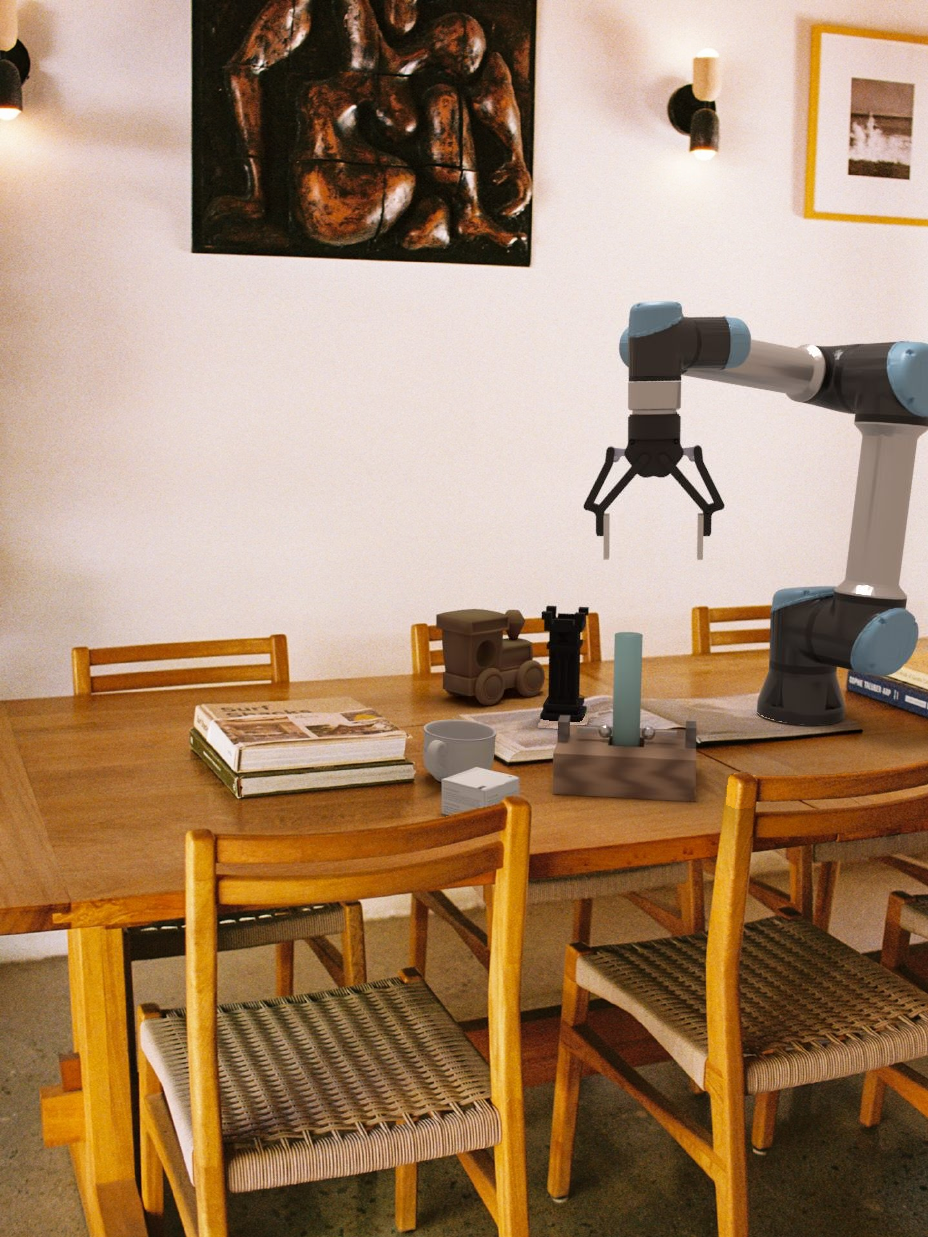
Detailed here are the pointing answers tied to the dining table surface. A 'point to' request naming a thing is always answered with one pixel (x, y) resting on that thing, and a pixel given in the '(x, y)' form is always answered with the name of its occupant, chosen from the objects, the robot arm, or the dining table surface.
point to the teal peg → (627, 689)
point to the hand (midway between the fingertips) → (652, 558)
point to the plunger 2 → (657, 733)
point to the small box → (476, 789)
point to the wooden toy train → (487, 655)
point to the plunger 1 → (596, 730)
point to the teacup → (457, 747)
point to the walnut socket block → (625, 765)
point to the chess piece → (564, 664)
